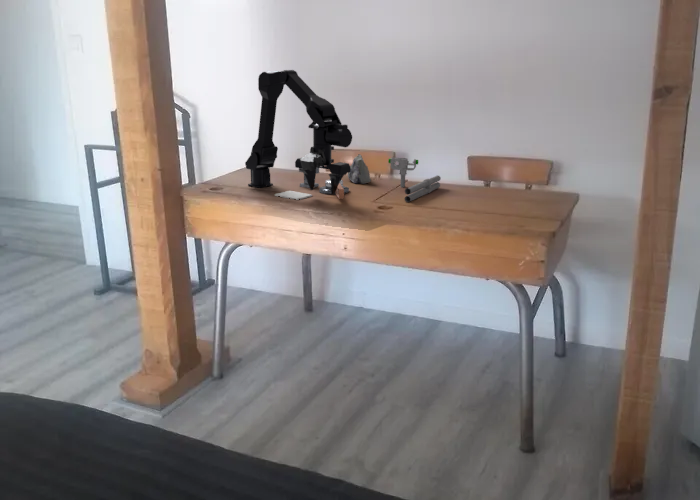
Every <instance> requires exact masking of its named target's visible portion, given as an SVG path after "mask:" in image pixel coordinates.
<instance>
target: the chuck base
mask: <svg viewBox="0 0 700 500" xmlns="http://www.w3.org/2000/svg"><path fill="white" fill-rule="evenodd" d="M343 189H344V195H345V194H348V193H349V191H350V187H349V186H348V187H347V186H344V185H343ZM318 191H319V193H321V194H323V195H335V196H337V195H336V193H334V194H331V190H329V189H326V188H325V185H324V186H320V187H319V190H318Z"/></svg>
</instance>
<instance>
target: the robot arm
mask: <svg viewBox="0 0 700 500" xmlns="http://www.w3.org/2000/svg"><path fill="white" fill-rule="evenodd" d="M257 80H258V83H257V85H258V89H257V90H258V92H259V93H260V95H261V106H260V116H259V124H258V125H259V126H258V133H257V134H258V135H257V139H256V140H255V142H254V144H252V145H253V146H252V148H251V152H250V155H249V156H248V158H247V160H246V161H245V162H244V164H245V167H246V168H245V169H247V170H250V183H247V186H250V187H255V188H265V187H271V186H273V185H274V183H273V182H271V171H270V168H274V167H275V166H274V165H275V162H276V159H277V158H278V150H279V149H278V146H277V145H275V143H274V141H273V137H274V131H275V130H274V129H275V123H276V122H275V121H276V114H277V113H276V112H277V103H278V99H279V97H280V96H281V95H282V93H283V91H284V86H285V85H286V86H287V88H289V90H290V91H291V92H292V93H293V94H294V96H296V97H297V99H298V100H300V102H301V103H302V104H303V105H304V106H305V109H306V110H305V111H306V113H307V116H308V117H309V118H310V119H311V121H312V122H311V123H310V124H309V125H308V126H307V127H308V129H312V131H313V133H312V134H313V135H312V138H313V139H312V141H313V145H312V146H311V147H310V149H309V150H310V151H309V153H306V154H305V155H304V156H303V157H298V158H296V159H295V161H294V165H295V167H294V168H298V171H299V170H300V171H302V172H301V173H303V175H304V174H305V176H306V179H307V181H308V184H309V187H310V188H309V190H311V191H314V189H315V187H314V184H315V183H316V167H317V168H319V169H324V170H328V171H329V172H330V173H328V176H329V179H330V178H331V194H334V193H335V191H336V189H337V187H338V185H339V183H340V181H341V180H342V179H343V178H344V176H346V175H348V173H349V172H350V166H351V165H350V164H349V162H344V161H343V162H341V161H340V162H335V159H333V158H332V151H334V150H335V147H341V148H348V147H349V146H350V145H351V144H352V141H353V134H352V132H351V130H350V129H349V127H348V126H349V125H348V124H342V122H341V120H340V118H339V116H338V114H337V112H336V110H335V109H336V108H335V106H334V105H333V103H332V102H330V101H329V100H328V99H325V98H323V97H321V96H319V95H318V94H316V93H315V92H314V90H312V89H311V87H310V86H309V85H308V84H307V83H306V82H305V81H304V80H303V79H302V78H301V76H299V75H298V72H297V71H296V70H295V69H283V70H281V71H277V70H275V71H262V72H261V73H260V74H259V76H258V79H257ZM299 168H300V169H299Z"/></svg>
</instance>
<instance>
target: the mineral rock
mask: <svg viewBox="0 0 700 500" xmlns="http://www.w3.org/2000/svg"><path fill="white" fill-rule="evenodd" d="M368 167H369V166H367V164H366V162H365V161H364V158H363V156H362V155H361V154H358V155H356V156H355V157H353V159H352V163H351V165H350V172H349V173H347V178H348V179H349V180H350V181H351V182H352V183H354V184H358V185H359V184H361V185H365V184H367V183H370V182H371V181H372V180H371V179H372V178H371V175H370V170H369V168H368Z"/></svg>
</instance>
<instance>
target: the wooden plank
mask: <svg viewBox="0 0 700 500" xmlns="http://www.w3.org/2000/svg"><path fill="white" fill-rule="evenodd" d="M324 186H325V188H326V189H329V190H331V178H330V177H329V179H325V183H324ZM343 186H344V180H342V179H341V181H340V183H339V185H338V187H337V189H336V191H335V193H336V195H335V196H337V198H338V199H339V200H340V199H342V200H343V199H344V198H345V194H344V189H343Z"/></svg>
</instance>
